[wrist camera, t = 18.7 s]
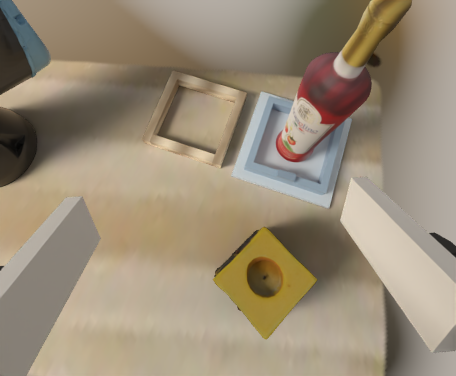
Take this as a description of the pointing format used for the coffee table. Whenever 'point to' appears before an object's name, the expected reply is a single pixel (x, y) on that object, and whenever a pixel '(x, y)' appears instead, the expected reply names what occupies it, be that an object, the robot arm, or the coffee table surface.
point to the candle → (264, 280)
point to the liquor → (336, 83)
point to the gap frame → (204, 87)
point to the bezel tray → (281, 168)
